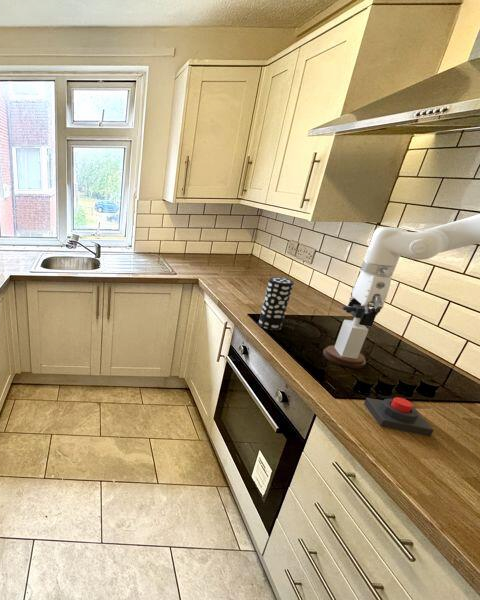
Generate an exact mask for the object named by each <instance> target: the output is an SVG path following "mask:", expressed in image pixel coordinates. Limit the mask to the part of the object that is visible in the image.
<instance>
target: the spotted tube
mask: <svg viewBox="0 0 480 600" xmlns="http://www.w3.org/2000/svg"><path fill="white" fill-rule="evenodd" d="M294 284H295V283H294V280H292V279H289V278H286V277H281V276H280V277H279V276H273V277H272V276H271V277H269V279H268V283H267V287H266V291H265V294H264V295H265V296H264V299H263V304H262V307H261V312H260V315H259V318H258V319H259V320H258V323H257V324H258V325H259V326H260V327H261V328H263V329H266V330H270V331H280V330H281V329H282V326H283V322H284V319H285V316H286V312H287V309H288V304H289V301H290V297H291V294H292V292H293V291H292V290H293V287H294Z"/></svg>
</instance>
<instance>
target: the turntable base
mask: <svg viewBox="0 0 480 600" xmlns="http://www.w3.org/2000/svg"><path fill="white" fill-rule="evenodd" d="M326 348H327V347H325V348H324V349H323V351H322V356H323V357H324V358H325V359H326V360H328V361H330V362H331V363H333V364H335V365H338V366H341V367H344V368H348V369H349V368H350V369H362V368H364V367H365V366H366V363H367V360H366V359H365V360H364V362H362V363H349V362H345V361H341V360H338V359H336V358H334V357H332V356H331V355H329V354H328V353H327V352H326Z"/></svg>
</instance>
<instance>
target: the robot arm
mask: <svg viewBox="0 0 480 600" xmlns="http://www.w3.org/2000/svg"><path fill="white" fill-rule="evenodd" d="M474 245H480V213H479V214H475V215H472V216H469V217H465V218H462V219H458V220H455V221H452V222H448V223H445V224H440V225H438V226H434V227H430V228H426V229H423V230H421V231H409V230H407V229H405V228H400V227H394V226H381V227H377V228H376V229H375V230H374V231H373V234H372V237H371V239H370V243H369V245H368V246H367V247H368V248H367V250H366V253H365V255H364V258H363V261H362V264H361V266H360V269H359V275H358V277H357V279H356V281H355V284H354V285H353V286H352V290H351V293H350V297H349V301H348V304H347V306H353V305H363V306H365V313H363V314H362V317H361V319H360V322H359V324H360V325H364V326H365V327H372V326H373V324H374V322H375V319H376V317H377V316H378V314H380V312H381V311H382V309H383V308H384V305H385V302H386V300H387V296H388V293H389V290H390V287H391V282H392V276H394V275H393V274H394V273H395V269H396V268H397V264H398V262H399V260H400V257H401V256H402V257H405V258H408V259H412V260H417V261H422V260H428V259H431V258H434V257H435V256H437V255H438V254H440V253H445V252H449V251H453V250H457V249H460V248H465V247H470V246H474ZM369 308H370V310H369ZM345 312H346V313H347V314H351V311H348V310H345Z"/></svg>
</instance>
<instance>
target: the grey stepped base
mask: <svg viewBox="0 0 480 600" xmlns="http://www.w3.org/2000/svg"><path fill="white" fill-rule="evenodd" d="M393 399H394V398H385V399H383V400H382V399H377V398H371V397H366V398H365V401H364V402H363V405H364V406H365V408H366V409H367V410H368V412H369V413H370V415H371V416H372V418H373V419H374V420H375V421H376V423H377V424H378V426H379V427H381V428H385V429H386V428H387V429H390V430H396V431H401V432H406V433H410V434H416V435H421V436H426V437H432V435H433V433H434V430H435V429H434V428H433V427H432V425H430V424H429V422H428V421H427V420H426V419H425V418H424V417H423V416H422V415H421V414H420V412H419V410H417V409H416V407H414V406H413V407H412V409H411V411H410V413H405V412H401V411H399V410H396V409H395V408H393V407H392V406H391V403H392V401H393Z"/></svg>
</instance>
